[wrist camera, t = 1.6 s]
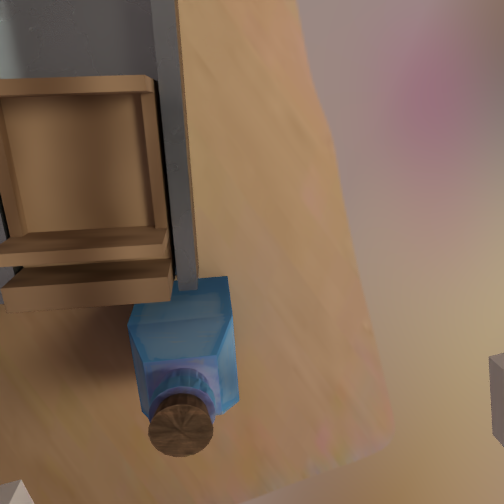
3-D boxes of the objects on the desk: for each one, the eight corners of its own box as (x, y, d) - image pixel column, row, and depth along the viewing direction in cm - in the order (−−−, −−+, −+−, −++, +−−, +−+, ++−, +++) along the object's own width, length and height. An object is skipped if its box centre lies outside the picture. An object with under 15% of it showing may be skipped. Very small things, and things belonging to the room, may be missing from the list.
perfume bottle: (227, 275, 32) (239, 370, 21) (233, 349, 34) (247, 472, 23) (141, 283, 31) (106, 385, 20) (153, 357, 33) (126, 487, 22)
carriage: (40, 278, 29) (0, 320, 23) (0, 86, 25) (-60, 80, 19) (175, 268, 30) (169, 307, 24) (157, 81, 26) (144, 74, 20)
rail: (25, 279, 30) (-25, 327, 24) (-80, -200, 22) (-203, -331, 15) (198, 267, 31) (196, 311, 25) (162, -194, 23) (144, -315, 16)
